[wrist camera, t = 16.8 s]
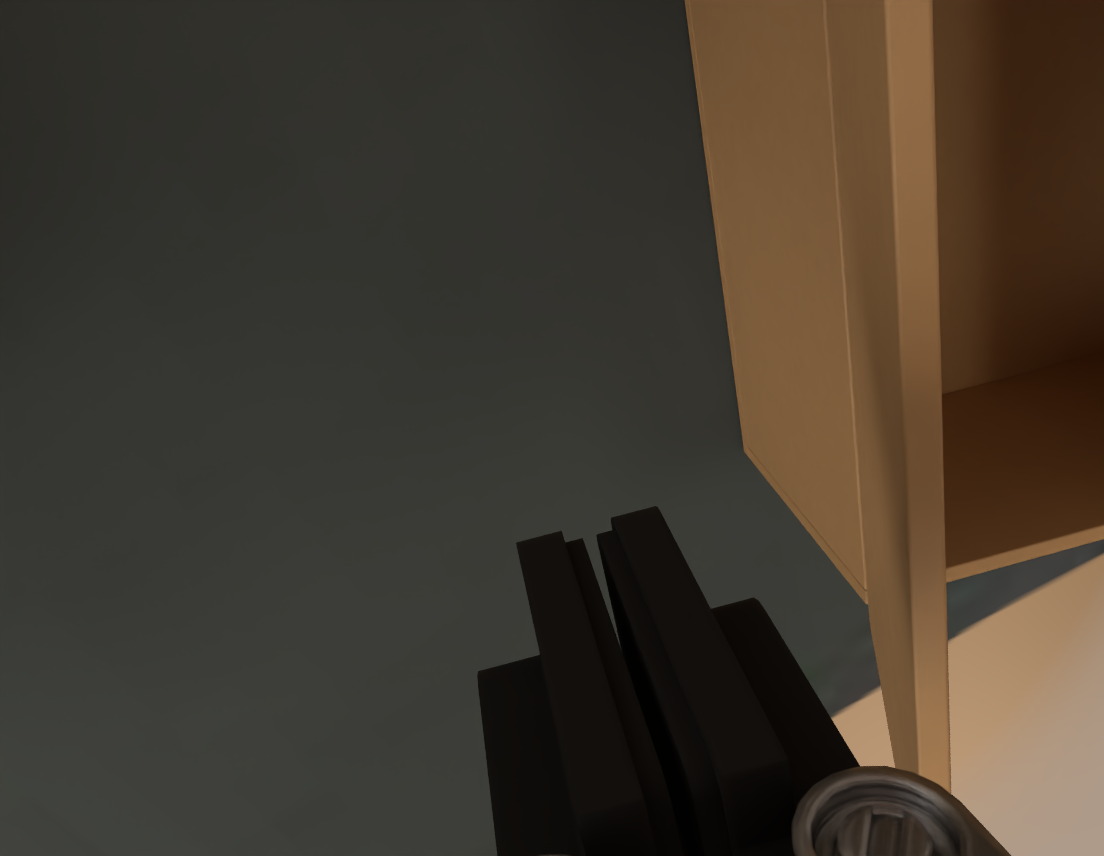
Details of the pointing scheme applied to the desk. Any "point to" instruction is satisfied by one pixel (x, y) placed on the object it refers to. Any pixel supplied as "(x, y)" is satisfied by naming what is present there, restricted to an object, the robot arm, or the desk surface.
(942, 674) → the flap
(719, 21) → the carton
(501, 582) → the desk surface
